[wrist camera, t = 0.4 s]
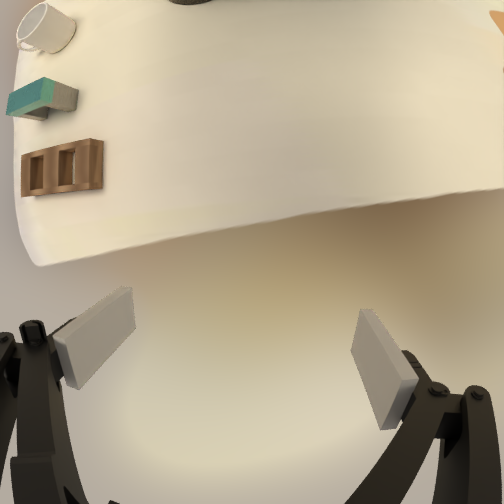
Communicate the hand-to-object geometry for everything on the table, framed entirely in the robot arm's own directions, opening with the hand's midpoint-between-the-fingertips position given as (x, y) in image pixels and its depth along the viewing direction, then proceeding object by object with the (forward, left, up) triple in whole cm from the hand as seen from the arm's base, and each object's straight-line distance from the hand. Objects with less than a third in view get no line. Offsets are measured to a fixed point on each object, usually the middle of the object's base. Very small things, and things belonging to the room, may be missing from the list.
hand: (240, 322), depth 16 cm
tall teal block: (-25, -39, -27) cm, 53 cm away
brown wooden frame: (-12, -36, -27) cm, 46 cm away
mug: (-42, -44, -27) cm, 66 cm away
